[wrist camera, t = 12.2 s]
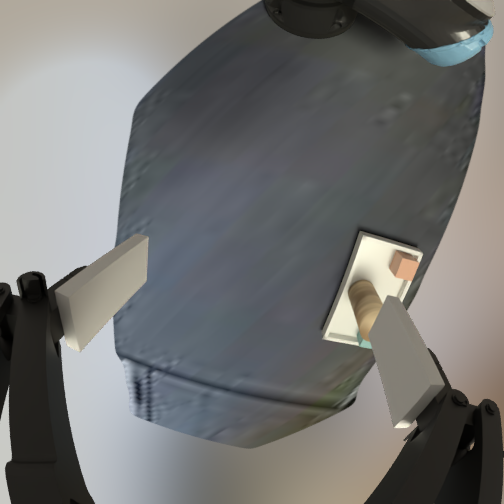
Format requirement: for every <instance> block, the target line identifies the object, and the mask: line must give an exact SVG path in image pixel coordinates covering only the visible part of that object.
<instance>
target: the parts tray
mask: <svg viewBox="0 0 504 504" xmlns="http://www.w3.org/2000/svg"><path fill="white" fill-rule="evenodd" d="M396 250H397V251H401V252H404V253H407V254H411V255H413V256H414V258H415V259H416V260H417V261H418V262H419V263H420V260H421V258H422V255H423V253H422V252H421V251H420V250H419V249H418V248H416V247H413V246H409V245H406V244H403V243H400V242H397V241H393V240H390V239H387V238H383V237H380V236H376V235H373V234H370V233H366V232H363V231H360V232H359V235H358V238H357V241H356V244H355V247H354V249H353V252H352V255H351V258H350V261H349V264H348V267H347V269H346V272H345V275H344V277H343V280H342V283H341V285H340V288H339V291H338V293H337V296H336V298H335V301H334V303H333V306H332V308H331V311H330V313H329V316H328V318H327V320H326V323H325V325H324V327H323V330H322V336H323V339H325V340H331V341H336V342H341V343H347V344H353V345H359V343H358V339H357V336H356V335H357V333H358V331H359V328H358V325H357V322H356V319H355V315H354V312H353V309H352V306H351V303H350V300H349V297H348V290H349V288H350V286H351V285H352V284H353V283H355V282H356V281H359V280H368V281H370V282H371V283H372V284H373V286H374V288H375V290H376V292H377V294H378V295H379V297H380V299H381V301H382V303H384V301H385V299H386V296H387V295H390V296H394V297H399V299H400V301H401V302H402V301H403V299H404V297H405V295H406V293H407V290H408V288H409V286H410V284H411V282H412V281H408V280H404V279H400V278H396V277H395V276H394V275H393V274H392V272H391V271H390V269H389V267H390V264H391V262H392V259H393V256H394V254H395V251H396Z"/></svg>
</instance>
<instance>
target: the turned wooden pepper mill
mask: <svg viewBox="0 0 504 504" xmlns="http://www.w3.org/2000/svg"><path fill="white" fill-rule="evenodd" d="M348 297H349V300H350V303H351V306H352V309H353V312H354V315H355V319H356V322H357V325H358V328H359V331H360V335H361V337H362V338H363V339H364V340H365V341H368V342H370V340H369V337H368V333H369V332H370V330H371V328H372V326H373V324H374V322H375V320H376V318H377V316H378V314H379V311H380V309H381V307H382V305H383V303H382V301H381V299H380V297H379V295H378V294H377V292H376V290H375V288H374V286H373V284H372V283H371V282H370V281H368V280H359V281H356V282H355V283H353V284H352V285H351V286H350V288H349V290H348Z"/></svg>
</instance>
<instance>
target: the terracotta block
mask: <svg viewBox="0 0 504 504" xmlns="http://www.w3.org/2000/svg"><path fill="white" fill-rule="evenodd" d="M418 265H419V262H418V261H417V260H416V259H415V258H414V256H413V255H411V254H407V253H404V252H401V251H397V250H396V251H395V254H394V256H393V259H392V262H391V264H390V267H389V269H390V271H391V272H392V274H393V275H394V276H395V277H396V278H400V279H404V280H408V281H412V279H413V277H414V275H415V272H416V270H417V268H418Z"/></svg>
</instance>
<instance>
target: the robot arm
mask: <svg viewBox="0 0 504 504" xmlns="http://www.w3.org/2000/svg"><path fill="white" fill-rule="evenodd" d="M265 4H266V9H267V12H268V14H269V16H270V17H271V18H272V20H273V21H274V22H275V23H276V24H277V25H278V26H280V27H281V28H283V29H284V30H286V31H288V32H290V33H292V34H295V35H298V36H301V37H306V38H314V39H322V38H330V37H334V36H337V35H339V34H341V33H343V32H345V31H346V30H347V29H349V28H350V26H351V25H352V24H353V22H354V20H355V18H356V16H357V13H358V12H359V13H360V14H362V15H364V16H365V17H367V18H369V19H370V20H372V21H373V22H375V23H376V24H378V25H380V26H381V27H383V28H384V29H385V30H387V31H388V32H390V33H391V34H393V35H394V36H395V37H397V38H398V39H400V40H401V41H402V42H404V43H405V46H406V47H408V48H409V49H411V50H413V51H415V52H417V53H418V54H419V55H421V56H422V57H423V58H424V59H426V60H427V61H428V62H430V63H432V64H434V65H438V66H452V65H456V64H458V63H461V62H463V61H465V60H467V59H469V58H471V57H472V56H474V55H475V54H477V53H478V52H479V51H480V50H481V47H482V46H484V45H486V44H487V43H488V42H489V41H490V39H491V38H492V35H493V25H492V23H491V21H490V18H492V17H493V16H494V15H495V8H494V2H493V0H265ZM148 238H149V237H148V236H144V235H140V234H135V235H134V236H132V237H131V238H129V239H127V240H126V241H124V242H123V243H121V244H120V245H118V246H117V247H115V248H114V249H112V250H111V251H109V252H108V253H106V254H105V255H103V256H102V257H101V258H99V259H98V260H96V261H95V262H94V263H92V264H90V265H89V266H83V267H80V268H77V269H75V270H74V271H72V272H71V273H70V274H69V275H67V276H65V277H64V278H63V279H61V280H60V281H58V282H57V283H55V284H54V285H53V286H51V287H50V288H49V289H47V286H46V280H45V276H44V274H43V273H40V272H35V271H32V272H27V273H25V274H22V275H21V276H20V277H18V279H17V286H18V290H19V294H20V296H17V295H12V292H11V288H10V285H9V284H7V283H0V419H1V414H2V410H3V406H4V402H5V398H6V394H7V390H8V387H9V425H10V439H11V450H12V460H11V461H10V462H7V464H6V467H5V472H6V480H7V486H8V491H9V496H10V500H11V504H95V503H94V501H93V499H92V497H91V496H90V494H89V492H88V490H87V487H86V485H85V482H84V478H83V475H82V472H81V469H80V465H79V461H78V458H77V454H76V450H75V446H74V442H73V438H72V432H71V427H70V422H69V417H68V411H67V405H66V398H65V390H64V382H63V372H62V360H61V345H60V342H59V340H60V339H61V338H62V337H63V336H65V340H66V344H67V346H69V347H71V348H73V349H74V350H77V351H79V352H81V351H82V350H83V349H84V348H85V346H86V345H87V344H88V343H89V342H90V341H91V340H92V339H93V337H94V336H95V335H96V334H97V333H98V332H99V330H101V329H102V328H103V326H104V325H105V324H106V323H107V322H108V321H109V320H110V319H111V318H112V317H113V316H114V315H115V314H116V312H117V311H118V310H119V309H120V308H121V307H122V306H123V305H124V304H125V303H126V302H127V301H128V300H129V299H130V298H131V297H132V296H133V295H134V293H135V292H136V291H137V290H138V289H139V288H140V287H141V286H142V285H143V284H144V283H145V282H146V281H147V256H148ZM368 337H369V340H370V343H371V347H372V350H373V353H374V356H375V360H376V363H377V366H378V370H379V373H380V376H381V380H382V384H383V387H384V391H385V395H386V399H387V402H388V406H389V410H390V414H391V418H392V423H393V427H394V428H408V427H409V426H410V424H412V423H413V421H414V420H416V421H417V425H418V426H417V427H416V428H415V429H414V430H413V431H412V432H411V433H410V434H409V435H408V436H407V437H406V438H405V439H404V441H405V440H407V439H408V438H409V439H408V440H407V442H406V444H405V445H404V447H403V449H402V450H401V452H400V454H399V455H398V457H397V459H396V460H395V462H394V463H393V465H392V466H391V468H390V469H389V471H388V472H387V474H386V475H385V477H384V478H383V479H382V481H381V482H380V483H379V485H378V486H377V487H376V489H375V490H374V492H373V493H372V494H371V495H370V497H369V498H368V499H367V501H366V502H365V503H364V504H501V499H502V486H503V443H502V428H501V418H500V412H499V408H498V407H497V404H496V403H495V402H494V401H491V400H490V399H484V400H483V401H482V402H481V403H480V404H479V405H478V406H474V405H471V404H469V401H468V399H467V397H466V396H465V395H464V394H463V393H462V392H461V391H459V390H456V389H452V388H451V385H450V383H449V381H448V379H447V377H446V375H445V373H444V371H443V370H442V367H441V365H440V364H439V361H438V359H437V357H436V355H435V354H434V353H433V352H432V351H431V350H430V349H429V348H427V347H426V345H425V344H424V341H423V339H422V338H421V336H420V334H419V332H418V330H417V328H416V327H415V325H414V323H413V321H412V320H411V318H410V316H409V314H408V312H407V311H406V309H405V307H404V306H403V304H402V302H401V301H400V299H399V297H394V296H390V295H387V296H386V299H385V301H384V303H383V305H382V307H381V309H380V311H379V314H378V316H377V318H376V320H375V322H374V324H373V326H372V328H371V330H370V332H369V333H368ZM473 443H474V446H473V448H472V450H470V445H471V444H473Z"/></svg>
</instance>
